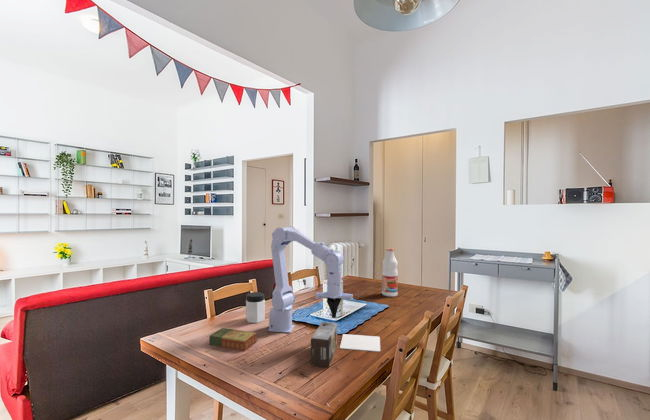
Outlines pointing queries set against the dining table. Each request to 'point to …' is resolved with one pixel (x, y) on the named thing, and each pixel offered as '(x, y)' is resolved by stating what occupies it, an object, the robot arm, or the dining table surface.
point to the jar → (255, 307)
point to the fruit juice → (390, 274)
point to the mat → (360, 342)
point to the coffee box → (324, 344)
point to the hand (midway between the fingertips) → (334, 317)
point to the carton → (233, 339)
